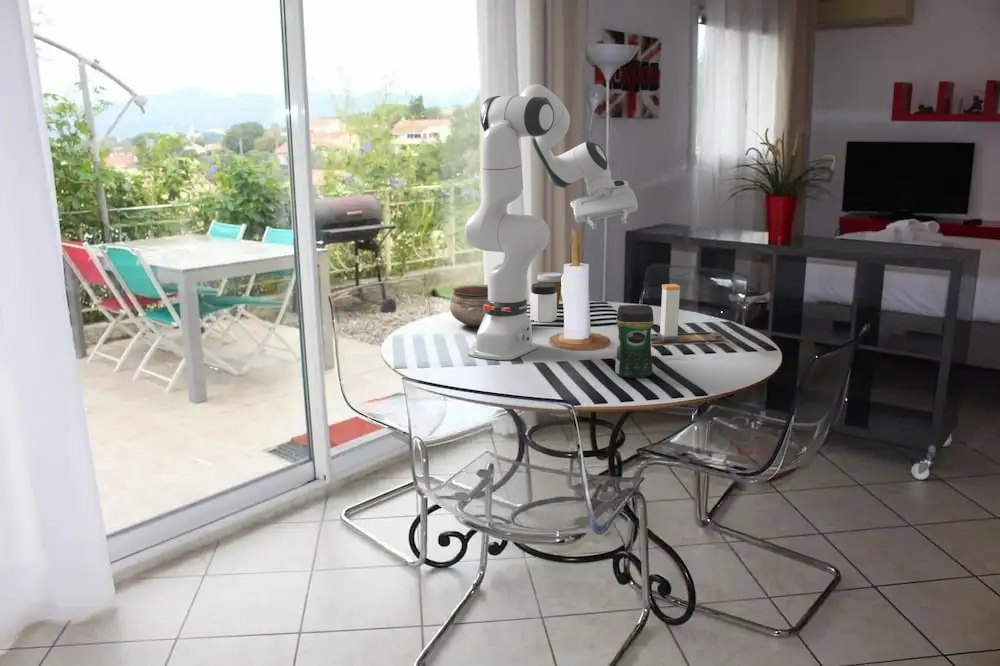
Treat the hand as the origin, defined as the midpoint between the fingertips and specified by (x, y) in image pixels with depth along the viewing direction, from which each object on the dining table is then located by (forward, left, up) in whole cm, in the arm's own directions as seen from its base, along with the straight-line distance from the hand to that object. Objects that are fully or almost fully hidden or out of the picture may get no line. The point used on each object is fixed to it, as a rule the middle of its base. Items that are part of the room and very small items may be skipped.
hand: (609, 225), depth 251 cm
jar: (+5, +23, -33) cm, 41 cm away
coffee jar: (-46, -18, -33) cm, 60 cm away
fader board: (-9, -25, -33) cm, 43 cm away
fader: (-11, -22, -32) cm, 40 cm away
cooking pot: (-11, +40, -33) cm, 53 cm away
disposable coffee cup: (+25, +27, -33) cm, 49 cm away
